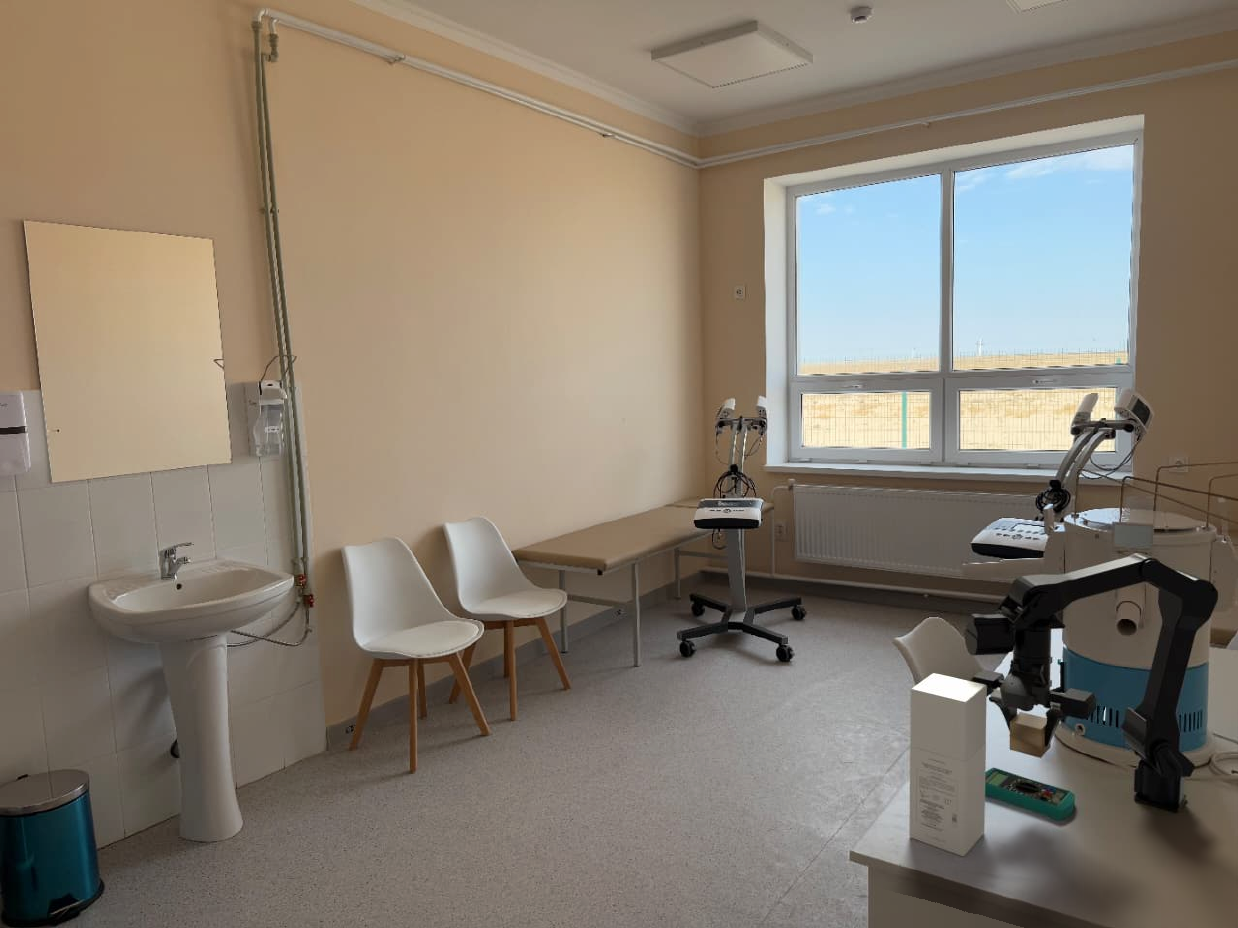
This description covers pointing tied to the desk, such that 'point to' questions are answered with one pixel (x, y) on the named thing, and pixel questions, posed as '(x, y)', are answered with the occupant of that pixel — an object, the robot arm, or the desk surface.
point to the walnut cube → (1028, 734)
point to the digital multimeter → (1029, 794)
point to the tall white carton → (947, 762)
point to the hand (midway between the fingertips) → (1030, 741)
